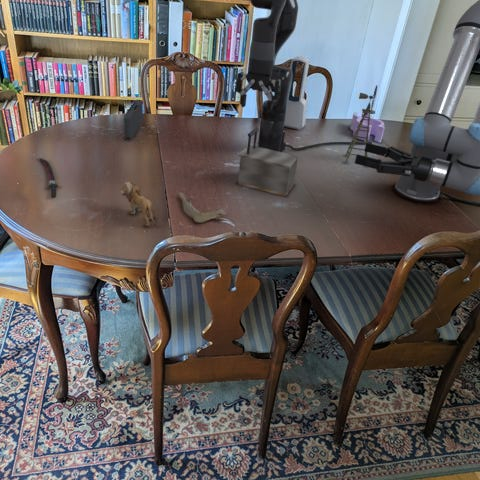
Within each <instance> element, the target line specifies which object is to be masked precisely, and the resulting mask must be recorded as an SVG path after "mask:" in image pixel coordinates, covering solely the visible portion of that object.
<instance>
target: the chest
mask: <svg viewBox="0 0 480 480" xmlns="http://www.w3.org/2000/svg"><path fill="white" fill-rule="evenodd" d="M298 160H299V158H298V159H297V160H296V161H295V163H294V164H293V165H292V166H291V168H290V169H289V168H285V167H281V166H276V165H272V164H268V163H264V162H260V161H256V160H252V159H248V158H243V157H240V158H239V167H238V168H239V169H238V176H237V185H240V186H243V187H247V188H252V189H255V190H259V191H263V192H267V193H271V194H273V195H278V196H282V197H286V196H287V195H288V193H289V192H290V191H291V189H292V188H293V186H294V184H295V178H296V173H297V172H296V171H297V168H298V167H297V166H298Z"/></svg>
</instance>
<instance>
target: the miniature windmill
mask: <svg viewBox="0 0 480 480" xmlns="http://www.w3.org/2000/svg"><path fill="white" fill-rule="evenodd" d="M377 91H378V85H375V88H374V91H373V94H372V95H368V94H366V93H363V92H360V93H359V96H358V100H367V99H369V102H368V104H367V105H366V108H362V109H361V111H362V112H361V116H362V119H361V121H360V124H361V125H360V124H359V126H358V127H357V130H356V132H355V135H354V136H352V139H351V141H350V142H351V144H349V146H347V151H346V153H345V156H347V157H346V159H345V164H346V163H348V160H349V158H350V156H355V157H356V155H357V154H355V153H352V151H353V150H358V151H364V150H365V148H359V147H354V145H355V144H354V143H355V142H360V143H368V142H369V140H368V134H369V121H370V115H375V114H376V110H373V108H374V104H375V99H376V96H377ZM371 100H372V101H371ZM362 113H364V115H362ZM368 114H369V115H368ZM366 115H368V117H365V116H366ZM364 118H368V119H364ZM364 120H368V126H367V127H363V126H362V123H363V121H364ZM361 127H362V128H367V131H366V130H360V128H361ZM357 131H358V132H357ZM359 131H365V132H367V136H366V137H359V136H358V133H359ZM357 137H358V138H365V139H366V142H364V141H360V140H357V139H358V138H357ZM352 143H353V144H352ZM364 156H366V157H369V156H368V152H365V151H364Z"/></svg>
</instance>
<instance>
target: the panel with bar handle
mask: <svg viewBox="0 0 480 480" xmlns="http://www.w3.org/2000/svg"><path fill="white" fill-rule="evenodd" d="M259 131H260V128H259V127H258V126H256V127H254V128H253V129H252V130H251V131H249V132H248V133H247V137H248V138H247V139H248V140H247V146H246V147H244V148H243V149H242V150H241V151H240V152H239V153H238V154H237V156H238V157H243V158H248V159H252V160H256V161H260V162H264V163H268V164H272V165H276V166H281V167H285V168H289V169H290V168H291V166H292V165H293V164H294V163H295V161H296V160H297V159H298V160H299V156H298V155H295V154H292V153H291V154H290V153H287V152H283V151H282V152H278V151H274V150H269V149H265V148H261V147H258V146H257V139H258V138H257V137H258V132H259ZM252 137H253V142H252ZM251 143H253V144H251Z"/></svg>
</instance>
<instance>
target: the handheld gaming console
mask: <svg viewBox="0 0 480 480" xmlns="http://www.w3.org/2000/svg"><path fill="white" fill-rule="evenodd" d="M143 107H144V105H143V100H142V99H136V100H135V101H134V102H133V103H132V104H131V106H130V107H129V108H128V109H127V111H126V113H125V114H124V115H123V116H124V117H123V125H124V126H123V127H124V128H123V129H124V139H125V140H128V141H129V140H130V141H132V139H133V138H134V137H135V135H136V133H137V132H138V131H139V129H140V128H141V126H142V124H143V120H144V113H143V112H144V111H143Z"/></svg>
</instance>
